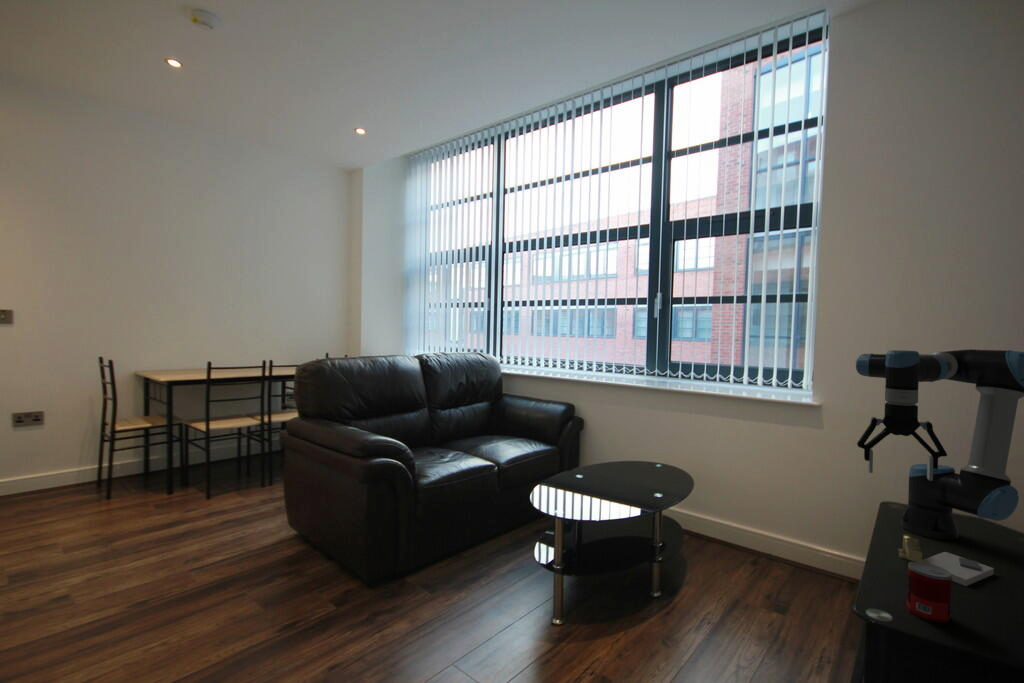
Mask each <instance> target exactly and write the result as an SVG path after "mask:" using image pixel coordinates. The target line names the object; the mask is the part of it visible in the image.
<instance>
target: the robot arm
mask: <svg viewBox="0 0 1024 683" xmlns="http://www.w3.org/2000/svg"><path fill="white" fill-rule="evenodd" d="M855 368H856V372H857V373H858V374H859V375H861V376H864V377H868V378H877V379H878V378H881V379H885V385H884V386H885V388H884V401H885V403H884V417H883V418H877V417H875V416H872V417H871V418H870V423H869V425H868V427H867V428H866V429H865V431H864V432H863V433H862V435H861V436H860V438H859V439H858V441H857V443H856V444H857V447H858V448H861V449H863V450H864V451H863V452H864V453H863V454H864V455H863V458H864V460H865V461H866V462H867V461H868V464H867V465H868V468H867V470H868V473H869V474H872V473H873V472H874V471H873V470H874V466H873V464H874V450H873V448H874V447H875V446H877V445H878V444H879V443H880V442H881V441H882V440H884V439H885V438H886V437H888V436H889V435H891V434H892V435H893V436H904V437H909V436H913V438H915V439H916V441H917V442H918V443H919V444H920V445H921V446H922V447H923V448H924V449H925V450H926V451H927V452H928V453H929V454H930V455H927V462H926V463H918V464H917V463H916V464H912V465H911V466H910V468H909V473H908V491H907V492H908V494H907V495H908V496H907V497H908V499H907V501H908V502H907V506H906V508H905V510H904V512H903V514H902V516H901V518H900V526H901V527H902V528H903V529H904V530H906V531H908V532H911V533H912V534H915V535H919V536H923V537H925V538H931V539H935V540H943V541H956V540H958V539H959V536H960V534H959V529H958V526H957V523H956V520H955V518H954V514H953V509H954V510H957V511H960V512H962V513H967V514H971V515H974V516H977V517H979V518H981V519H987V520H992V521H997V522H1001V521H1004V520H1007V519H1008V518H1009V517H1011V516H1012V515H1013V514H1014V512H1015V510H1016V508H1017V507H1018V504H1019V501H1020V500H1019V498H1020V496H1019V492H1018V490H1017V489H1016V488H1015V487H1014V486H1012V485H1011V483H1012V480H1011V478H1010V477H1009V476H1008V475H1007V474H1006V471H1007V465H1008V459H1009V454H1010V448H1011V442H1012V437H1013V431H1014V426H1015V420H1016V414H1017V408H1018V404H1019V400H1020V399H1021V398H1023V397H1024V351H1017V350H1012V349H1008V350H1001V349H1000V350H998V349H997V350H996V349H960V350H959V349H958V350H949V351H947V350H946V351H936V352H933V353H931V354H922V353H921V354H920V353H919V352H918V351H917V350H905V349H904V350H901V349H900V350H899V349H898V350H897V349H896V350H895V349H893V350H892V349H891V350H888V351H887V352H886V353H885V354H884V353H883V354H880V353H877V354H876V353H861V355H859V356H858V357H857V359H856V360H855ZM941 380H946V381H953V382H954V381H955V382H961V383H965V384H974V385H975V390H976V391H977V392H979V394H980V396H979V401H978V407H977V411H976V412H977V414H976V417H975V418H976V419H975V423H974V424H975V425H974V429H973V435H972V441H971V446H970V452H969V457H968V462H967V463H968V464H967V465H966V466H963V467H961V468H960V470H959V473H956V470H955V468H954V467H953V466H950V465H943V464H939V458H941V457H947V456H948V453H947V452H946V450H945V448H944V447H943V445H942V443H941V441H940V439H939V438H938V437H937V435H936V433H935V431H934V426H933V423H932V422H930V421H929V420H926V421H924V422H923V421H921V422H919V418H918V416H919V406H918V405H917V404H918V403H919V384H920V383H928V382H929V383H933V382H937V381H941ZM880 424H883V426H884V428H883V429H882V430H881V431H880V432H879V433H878V434H876V435H875V436H874V437H873V438H872V439H871V440H869V441H868V442H867V440H868V439H869V438H870V437H871V435H872V434H873V433H874V431H875V429H876V427H877V426H880ZM920 427H921V428H922V429H923V430H925V431H926V434H927V435H928V436H929V437H930V440H931V441H932V443H933V445H934V446H935V448H936V449H937V451H935V450H934V449H933V448H932V447H931V446H930V445H929V444H928V443H927V442H926V440H924V439H923V438H922V437H921V435H920V434H918V432H916V430H918V429H919V428H920ZM866 442H867V443H866Z"/></svg>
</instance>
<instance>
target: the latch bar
mask: <svg viewBox="0 0 1024 683" xmlns="http://www.w3.org/2000/svg"><path fill="white" fill-rule="evenodd" d="M902 549H903V553H905V554H906V555H907V558H908V559H907V560H908V561H911V562H922V560H923V551H922V549H921V546H920V544H919V537H917V536H915V535H912V534H903V535H902Z"/></svg>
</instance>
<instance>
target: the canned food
mask: <svg viewBox="0 0 1024 683" xmlns="http://www.w3.org/2000/svg"><path fill="white" fill-rule="evenodd" d="M952 583H953V581H952V574H951V573H950V572H949V571H947V570H945V569H943V568H941V567H938V566H935V565H932V564H928V563H923V562H916V561H911V562H908V565H907V582H906V584H907V585H906V607H907V610H908V611H909V612H910V613H912V614H913V615H914V616H917V617H918V618H920V619H923V620H926V621H929V622H934V623H939V624H941V623H942V624H943V623H947V622H949V620H950V618H951V604H952V603H951V602H952V587H953V585H952Z"/></svg>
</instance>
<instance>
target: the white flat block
mask: <svg viewBox="0 0 1024 683" xmlns="http://www.w3.org/2000/svg"><path fill="white" fill-rule="evenodd" d="M922 562H923V563H928V564H932V565H935V566H938V567H941V568H943V569H945V570H947V571H949V572H950V573H951V574H952V582H954V583H957V584H959V585H961V586H965V587H968V586H971V585H973V584H974V583H977V582H979V581H981V580H984V579H986V578H988V577H989V578H990V577H991V576H993V575H994V571H995V570H994V568H995V567H994V568H993V567H991V566H988V565H985V564H983V563H979V562H978V561H976V560H971V559H967V558H965V557H962V556H959V555H956V554H954V553H953V554H952V553H950V552H947V551H943V552H940V553H937V554H935V555H931V556H929V557H926V558H924V559H923V558H922Z"/></svg>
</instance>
